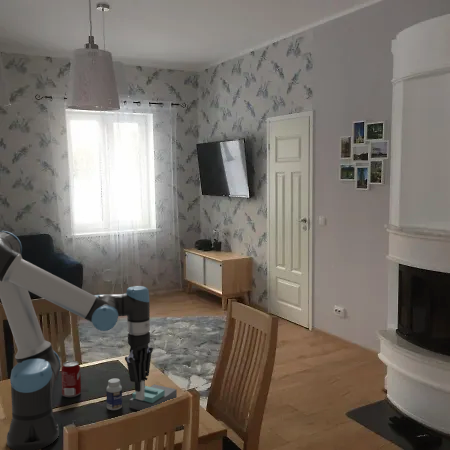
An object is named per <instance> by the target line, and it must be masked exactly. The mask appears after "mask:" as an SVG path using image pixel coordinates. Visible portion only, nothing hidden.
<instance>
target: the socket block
mask: <svg viewBox="0 0 450 450" xmlns="http://www.w3.org/2000/svg"><path fill="white" fill-rule="evenodd" d="M150 387H153V388H157V389H162V390H165V395H164V396H162V397H161V398H159V399H158V400H156V401H155V402H153V403H150V402H146V401H141V400H137V399H133V398H132V397H131V398H129V400H128V401H129V409H133V410H137V411H140V410H142V409H145V408H148V407H151V406H154V405H157V404H160V403H162V402H165V401H167V400H170V399H173V398H175V399H176V398H177V397H178V396H177V395H178V394H177V393H178V391H177V390H178V389H176V388H172V387H167V386H163V385H158V384H152V385H151V386H150ZM173 400H174V399H173Z"/></svg>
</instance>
